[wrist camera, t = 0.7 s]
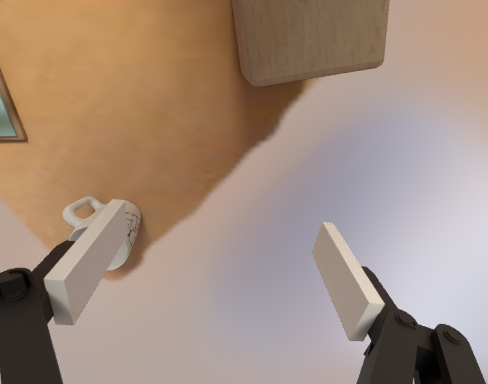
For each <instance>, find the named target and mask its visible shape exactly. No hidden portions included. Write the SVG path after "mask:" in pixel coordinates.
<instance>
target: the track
mask: <svg viewBox="0 0 488 384" xmlns="http://www.w3.org/2000/svg"><path fill="white" fill-rule="evenodd" d="M25 139H28V138H27V136H26V133H25V130H24V128H23V125H22V123H21V120H20V118H19V115H18V113H17V110H16V108H15V105H14V103H13V100H12V98H11V95H10V93H9V90H8V88H7V85H6V83H5V80H4V78H3V75H2V73H1V70H0V140H25Z"/></svg>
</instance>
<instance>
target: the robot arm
mask: <svg viewBox="0 0 488 384" xmlns="http://www.w3.org/2000/svg"><path fill="white" fill-rule="evenodd" d="M126 237H127V220H126V203H125V200H116V199H112V201H111V202H110V203H109V204H108V205H107V206H106V207H105V209H104V210H103V211H102V212H101V213H100V214H99V216H98V217H97V218H96V219H95V220H94V221H93V222H92V224H91V225H90V226H89V227H88V228H87V229H86V231H85V232H84V233H83V234H82V235H81V236H80V237H79V239H78V240H77V241H68V240H66V241H64V242H63V243H61V244H59V245H58V246H56V247H55V248H54V249H53V250H52V251H51V252H50V253H49V255H47V256H46V257H45V258H44V260H43V261H42V262H41V263H40V264H39V265H38V266H37V267H36V268H35V269H34V270H33V271H32V272H31V271H30V270H29V269H26V268H14V269H9V270H7V271H4V272H2V273H0V374H1V383H2V384H63V381H62V377H61V373H60V370H59V366H58V362H57V359H56V355H55V351H54V348H53V344H52V340H51V337H50V333H49V329H48V326H47V324H48V322H49V321H50V320H51V318H52V317H54V321H55V324H59V325H74V324H75V322H76V321H77V319H78V317H79V316H80V314H81V312H82V311H83V309H84V307H85V306H86V304H87V302H88V301H89V299H90V297H91V296H92V294H93V292H94V291H95V289H96V287H97V286H98V284H99V282H100V281H101V279H102V277H103V276H104V274H105V272H106V271H107V269H108V267H109V266H110V264H111V262H112V261H113V259H114V257H115V256H116V254H117V252H118V251H119V249H120V247H121V246H122V244H123V242H124V241H125V239H126ZM312 255H313V257H314V259H315V262H316V264H317V267H318V269H319V271H320V274H321V276H322V278H323V281H324V283H325V285H326V288H327V290H328V292H329V295H330V297H331V299H332V302H333V304H334V306H335V309H336V311H337V314H338V316H339V318H340V321H341V323H342V325H343V328H344V330H345V332H346V335H347V337H348V339H349V341H363V340H364V339H365V337H366V336H367V334H368V335H369V337H370V339H371V343H370V345H369V346H368V348H367V349H366V351H365V353H364V355H365V359H364V362H363V366H362V368H361V372H360V375H359V378H358V381H357V384H413V377H414V382H415V384H486V383H485V380H484V378H483V375H482V373H481V371H480V368H479V366H478V363H477V361H476V358H475V356H474V354H473V351H472V349H471V347H470V344H469V342H468V341H467V339H466V338H465V337H464V336H463V335H462V334H461V333H460V332H459V331H457V330H456V329H454V328H453V327H451V326H449V325H445V324H439V325H437V326H436V328H435V329H431V328H427V327H425V326H422V325H419V324H418V323H417V322H416V320H415V319H414V318H413V317H412V316H411V315H409V314H408V313H407V312H405V311H403V310H400V309H398V308H397V307H396V305H395V304H394V302H393V301H392V299H391V298H390V296H389V295H388V293H387V292H386V290H385V289H384V288H383V286H382V285H381V283H380V282H379V280H378V279H377V277H376V276H375V274H374V273H373V272H372V271H370V270H369V269H368V268H367V267H363V266H360V264H359V263H358V261H357V260H356V258H355V257H354V255H353V254H352V252H351V250H350V249H349V247H348V246H347V244H346V243H345V241H344V239H343V238H342V236H341V235H340V233H339V232H338V230H337V228H336V227H335V225H334V224H333V223H327V222H323V223H322V225H321V228H320V231H319V234H318V237H317V239H316V242H315V246H314V248H313V251H312Z"/></svg>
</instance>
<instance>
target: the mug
mask: <svg viewBox="0 0 488 384" xmlns="http://www.w3.org/2000/svg"><path fill="white" fill-rule="evenodd" d="M120 200H121V199H120ZM109 203H110V202H109ZM109 203H108V204H109ZM125 203H126V220H127V237H126V239H125V241H124V242H123V244H122V246H121V247H120V249H119V251H118V252H117V254H116V256H115V257H114V259H113V261H112V262H111V264H110V266H109V267H108V269H107V271H110V270H114V269H116V268H118V267H120V266H121V265H123V264H124V263H125V261H126V260H127V258H128V256H129V254H130V252H131V249H132V247H133V244H134V242H135V239H136V237H137V233H138V229H139V225H140V221H141V214H140V211H139V209H138V208H137V207H136V205H134V204H133V203H131V202H129V201H127V200H125ZM86 204H88V205H91V206H92V207H93V208H94V209H95V212H94V213H93V214H92V215H91V216H89V217H88V218H85V219H82V218H80V217H78V216H77V215H76V214H75V213H74V211H75V210H77V209H79V208H81V207H82V206H84V205H86ZM108 204H105V205H104V204H102V203H101V202H100V201H99V200H97V199H96V198H94V197H91V196H86V197H83V198H82V199H80V200H78V201H75V202H73V203H71V204H69V205H68V206H67V207H66V208H65V209H64V210H63V213H62V216H63V218H64V220H65V221H66V222H67V223H68V224H70V225H71V226H73V227H74V228H75V230H74V231H73V232H72V233H71V235H70V237H69V239H68V241H77V240H78V239H79V237H80V236H81V235H82V234H83V233H84V232H85V231H86V229H87V228H88V227H89V226H90V225H91V224H92V222H93V221H94V220H95V219H96V218H97V217H98V216H99V214H100V213H101V212H102V211H103V210H104V209H105V207H106V206H107V205H108Z"/></svg>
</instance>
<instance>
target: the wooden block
mask: <svg viewBox="0 0 488 384" xmlns="http://www.w3.org/2000/svg"><path fill="white" fill-rule="evenodd" d="M231 2H232V9H233V17H234V24H235V31H236V39H237V46H238V53H239V61H240V68H241V74H242V75H243V77H245V78H246V79H247V80H248V81H249V82H250V83H251V84H252V85H253V86H256V87H261V86H268V85H274V84H280V83H286V82H292V81H299V80H305V79H311V78H317V77H323V76H330V75H336V74H342V73H348V72H354V71H360V70H366V69H373V68H376V67H379V66H380V65H382V63H383V61H384V52H385V42H386V31H387V21H388V10H389V0H231Z"/></svg>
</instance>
